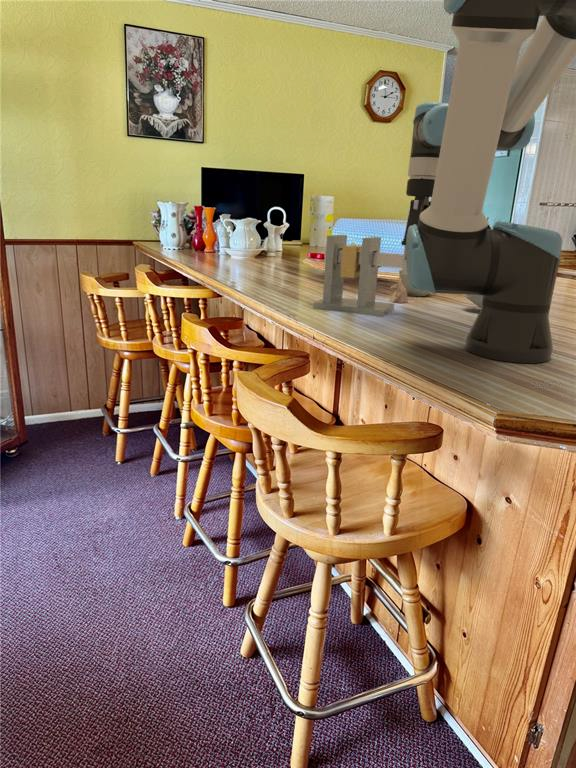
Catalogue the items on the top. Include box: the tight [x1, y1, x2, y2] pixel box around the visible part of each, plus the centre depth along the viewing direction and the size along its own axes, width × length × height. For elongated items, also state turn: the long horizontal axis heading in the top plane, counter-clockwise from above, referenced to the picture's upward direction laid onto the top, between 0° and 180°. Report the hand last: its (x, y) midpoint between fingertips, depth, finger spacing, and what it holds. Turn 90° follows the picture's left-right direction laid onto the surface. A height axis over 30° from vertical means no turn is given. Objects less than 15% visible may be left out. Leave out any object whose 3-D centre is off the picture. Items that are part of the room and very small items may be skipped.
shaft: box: [323, 248, 404, 269], centre depth 134 cm, size 4×24×4 cm, turn 67°
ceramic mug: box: [464, 294, 483, 309], centre depth 143 cm, size 11×8×8 cm
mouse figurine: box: [389, 277, 416, 304], centre depth 152 cm, size 5×8×7 cm, turn 91°
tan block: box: [340, 244, 362, 279], centre depth 136 cm, size 7×4×7 cm, turn 157°
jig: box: [313, 234, 395, 318], centre depth 137 cm, size 12×18×18 cm, turn 67°
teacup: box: [398, 268, 431, 297], centre depth 167 cm, size 14×11×8 cm
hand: (413, 272), depth 131 cm, fingers open, 13 cm apart
